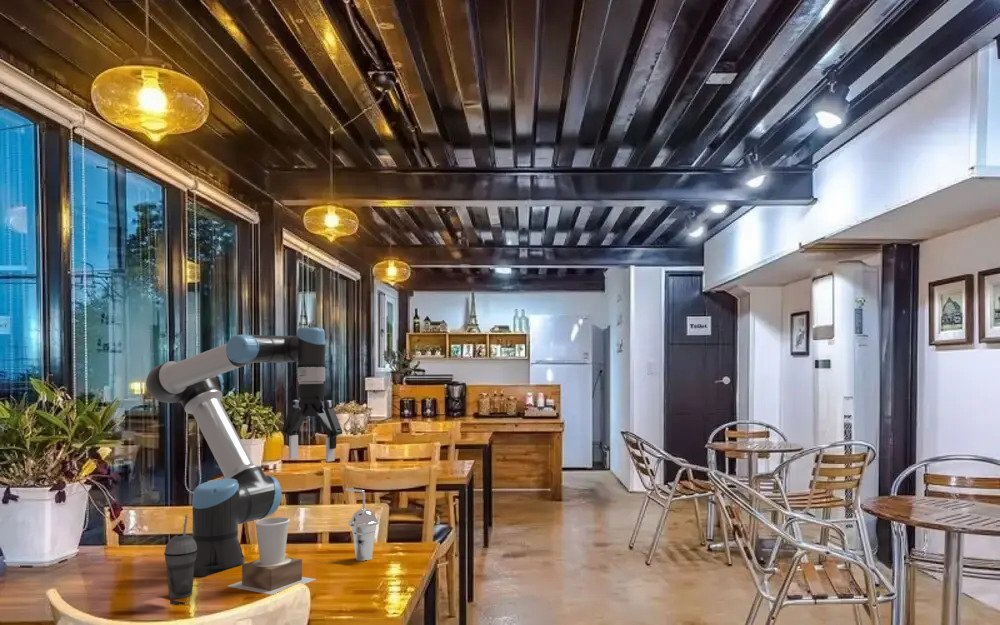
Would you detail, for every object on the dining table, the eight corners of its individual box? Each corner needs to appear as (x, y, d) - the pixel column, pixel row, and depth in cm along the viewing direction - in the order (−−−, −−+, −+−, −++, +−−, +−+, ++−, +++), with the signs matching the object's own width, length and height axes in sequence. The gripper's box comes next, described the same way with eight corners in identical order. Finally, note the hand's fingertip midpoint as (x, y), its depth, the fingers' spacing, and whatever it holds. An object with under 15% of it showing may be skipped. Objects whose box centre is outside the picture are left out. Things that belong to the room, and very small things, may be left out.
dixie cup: (284, 565, 179) (284, 523, 180) (249, 566, 179) (249, 524, 180) (294, 556, 187) (294, 516, 188) (261, 557, 188) (261, 517, 188)
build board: (226, 592, 181) (226, 586, 181) (270, 577, 193) (270, 571, 193) (274, 601, 173) (274, 595, 173) (316, 585, 185) (316, 579, 185)
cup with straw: (370, 563, 204) (369, 490, 206) (341, 561, 207) (341, 489, 208) (384, 555, 212) (384, 485, 214) (356, 553, 215) (356, 484, 216)
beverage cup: (170, 597, 177) (171, 512, 179) (201, 596, 178) (202, 511, 179) (158, 607, 170) (159, 519, 171) (191, 606, 171) (192, 518, 172)
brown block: (242, 585, 181) (242, 564, 181) (273, 574, 190) (273, 554, 190) (271, 590, 176) (271, 569, 176) (301, 579, 185) (301, 558, 185)
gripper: (269, 383, 209) (269, 459, 208) (336, 383, 197) (336, 463, 196) (288, 382, 216) (288, 456, 214) (355, 382, 204) (355, 460, 202)
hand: (311, 460), depth 205 cm, fingers open, 13 cm apart
